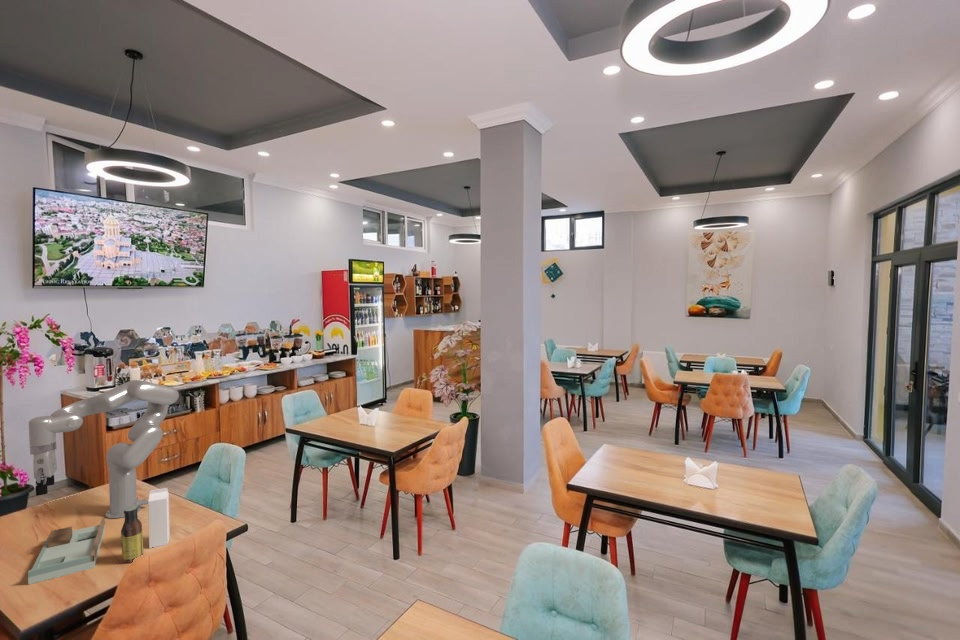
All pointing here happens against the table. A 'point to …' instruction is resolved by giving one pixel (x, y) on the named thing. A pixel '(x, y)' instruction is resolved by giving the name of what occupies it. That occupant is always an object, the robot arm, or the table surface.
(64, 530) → the walnut block
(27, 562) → the table surface
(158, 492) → the milk
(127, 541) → the sauce bottle
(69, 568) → the board
